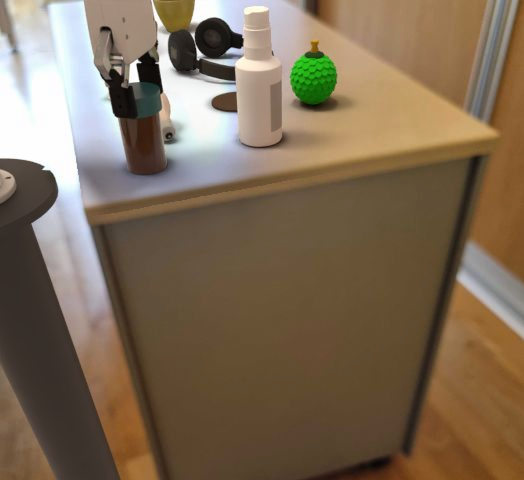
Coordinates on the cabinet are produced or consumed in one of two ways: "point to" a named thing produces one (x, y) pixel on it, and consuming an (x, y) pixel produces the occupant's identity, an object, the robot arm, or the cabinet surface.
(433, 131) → the cabinet surface
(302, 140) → the cabinet surface
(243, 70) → the spray bottle
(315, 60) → the ornament
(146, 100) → the lid
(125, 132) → the jar
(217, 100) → the coaster
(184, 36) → the headphones
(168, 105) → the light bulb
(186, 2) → the flower pot
